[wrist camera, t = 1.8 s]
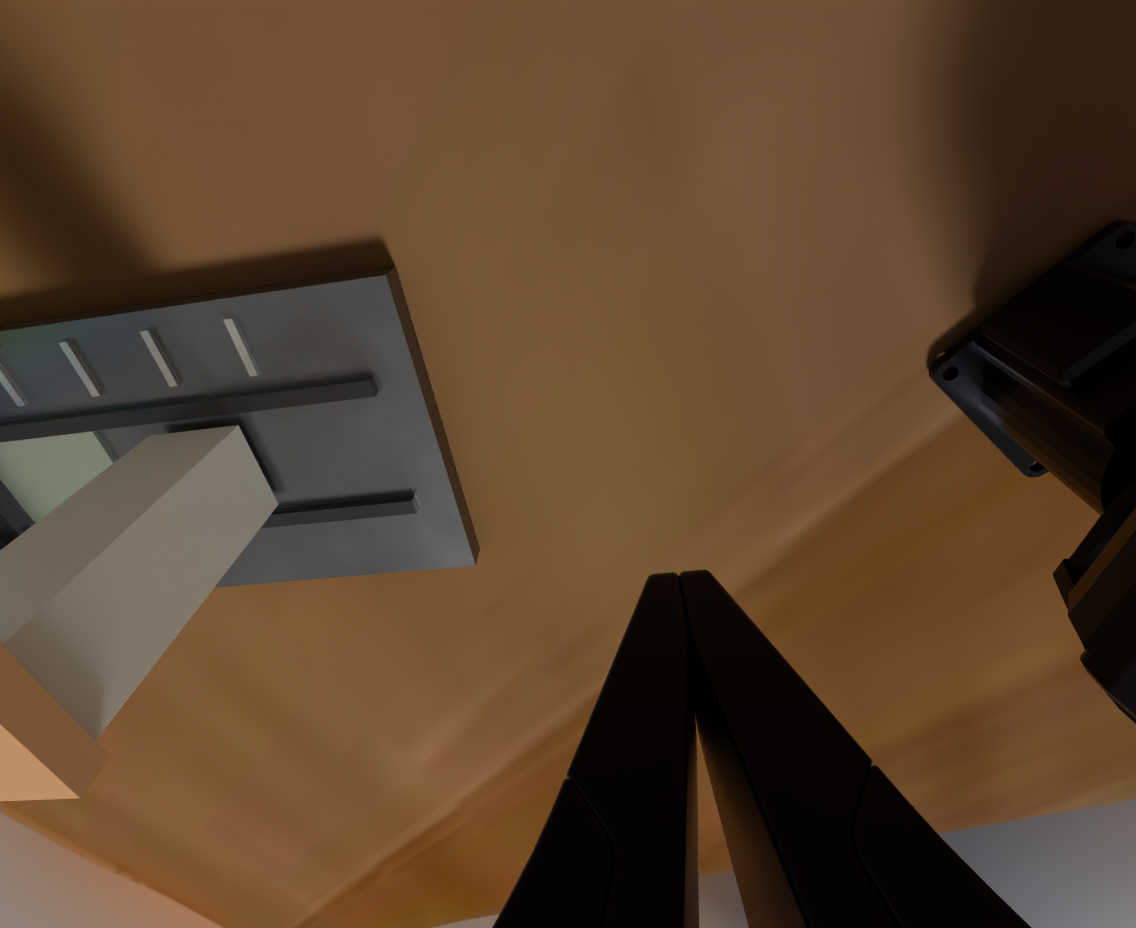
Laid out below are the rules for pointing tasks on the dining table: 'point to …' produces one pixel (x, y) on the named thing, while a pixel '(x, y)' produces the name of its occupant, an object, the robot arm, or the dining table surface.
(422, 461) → the plate
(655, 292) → the dining table surface
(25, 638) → the fader knob
